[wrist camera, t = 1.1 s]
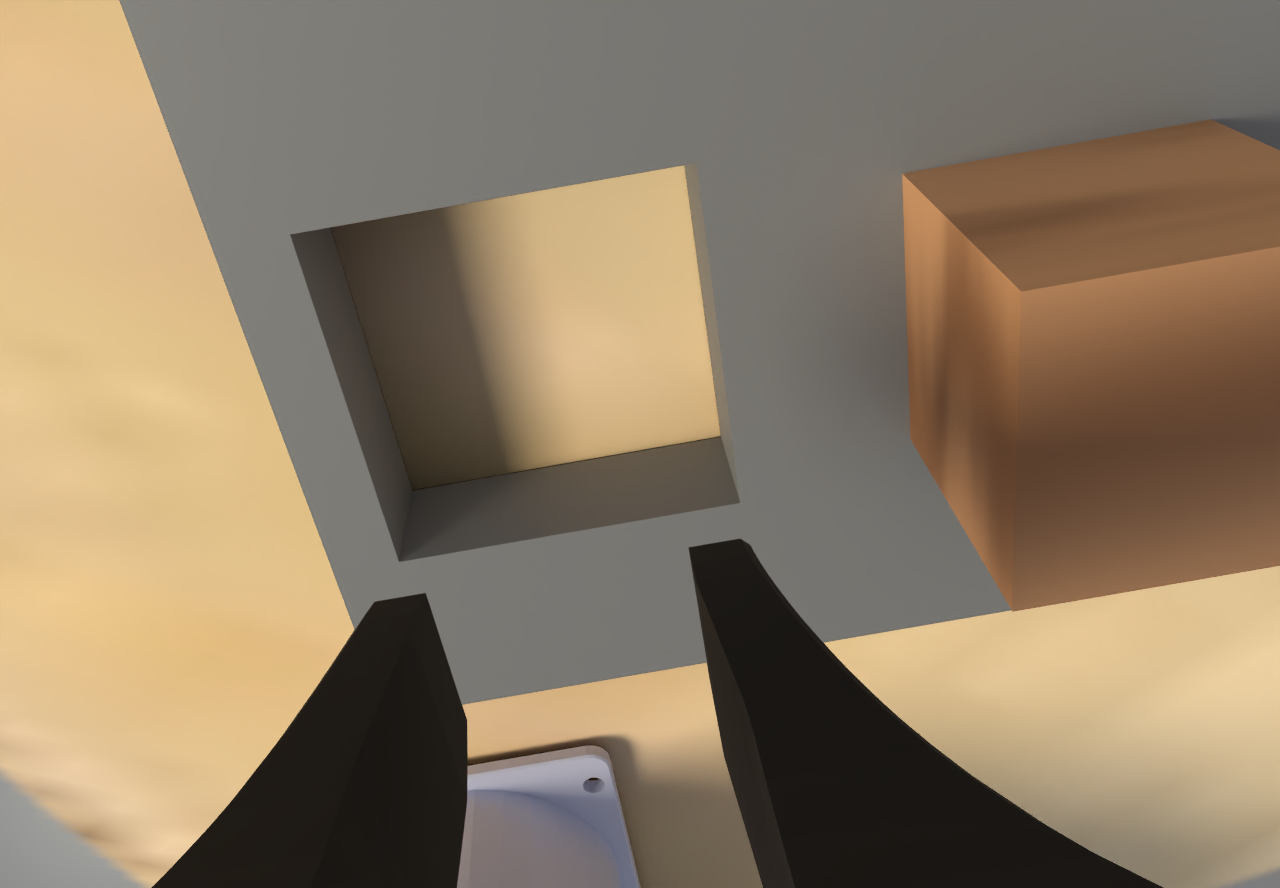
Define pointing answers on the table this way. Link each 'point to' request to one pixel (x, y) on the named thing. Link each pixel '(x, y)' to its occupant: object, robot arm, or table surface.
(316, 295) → the trap deck
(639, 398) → the table surface
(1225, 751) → the table surface
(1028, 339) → the block
